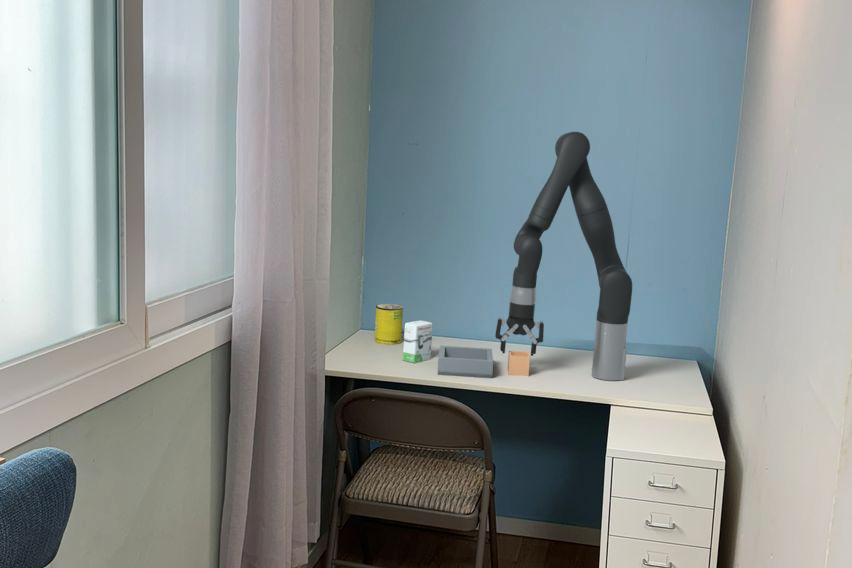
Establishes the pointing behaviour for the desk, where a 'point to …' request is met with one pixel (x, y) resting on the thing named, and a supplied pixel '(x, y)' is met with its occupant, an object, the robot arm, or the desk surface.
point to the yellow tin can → (388, 324)
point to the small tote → (518, 363)
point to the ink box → (417, 341)
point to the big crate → (465, 361)
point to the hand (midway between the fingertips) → (517, 354)
